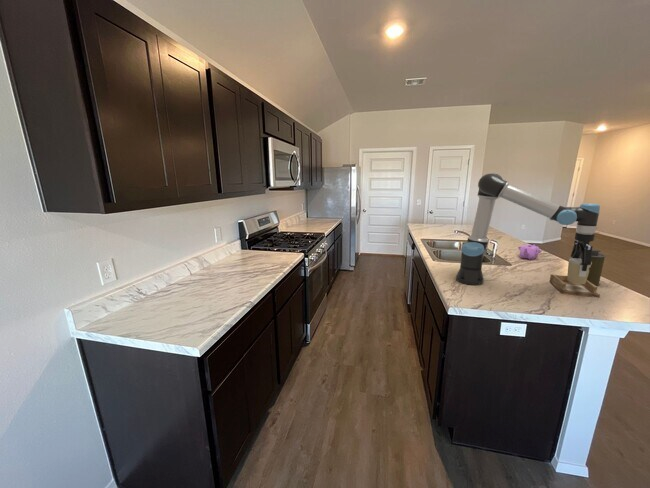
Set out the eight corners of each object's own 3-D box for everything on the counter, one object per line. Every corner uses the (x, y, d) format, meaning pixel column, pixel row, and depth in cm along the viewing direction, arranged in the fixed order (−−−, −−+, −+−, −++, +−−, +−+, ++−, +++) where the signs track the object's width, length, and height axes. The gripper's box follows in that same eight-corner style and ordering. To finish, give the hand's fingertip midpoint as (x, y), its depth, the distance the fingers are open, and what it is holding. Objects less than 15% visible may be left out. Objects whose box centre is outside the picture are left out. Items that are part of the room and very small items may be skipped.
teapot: (543, 261, 206) (545, 247, 203) (522, 260, 209) (524, 246, 206) (533, 256, 220) (535, 242, 218) (514, 255, 223) (516, 242, 221)
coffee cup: (592, 284, 146) (596, 263, 144) (571, 283, 148) (575, 262, 146) (580, 278, 155) (584, 258, 153) (561, 278, 157) (564, 257, 154)
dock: (561, 293, 150) (562, 284, 148) (549, 282, 166) (550, 274, 165) (599, 297, 144) (601, 288, 143) (583, 285, 160) (584, 277, 159)
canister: (594, 280, 166) (601, 248, 162) (602, 286, 157) (610, 252, 153) (571, 278, 171) (577, 247, 166) (578, 284, 162) (584, 251, 157)
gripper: (605, 237, 134) (597, 280, 139) (584, 229, 154) (577, 268, 159) (586, 236, 137) (578, 279, 142) (567, 229, 157) (561, 266, 162)
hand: (577, 273), depth 151 cm, fingers closed on coffee cup, 9 cm apart
